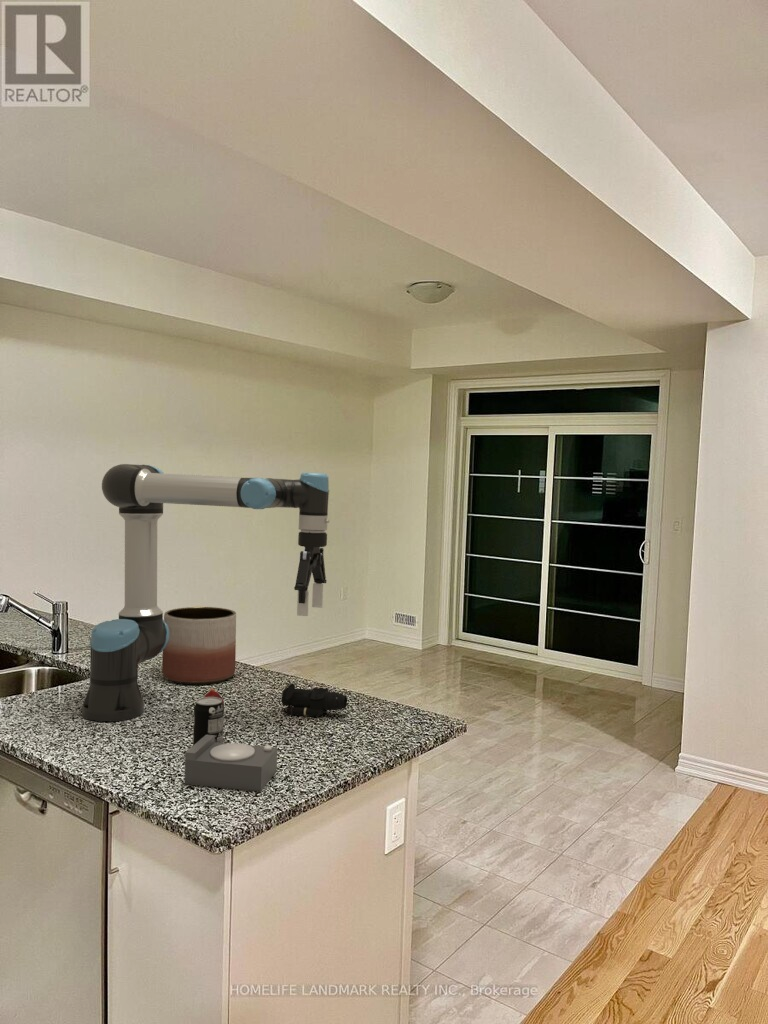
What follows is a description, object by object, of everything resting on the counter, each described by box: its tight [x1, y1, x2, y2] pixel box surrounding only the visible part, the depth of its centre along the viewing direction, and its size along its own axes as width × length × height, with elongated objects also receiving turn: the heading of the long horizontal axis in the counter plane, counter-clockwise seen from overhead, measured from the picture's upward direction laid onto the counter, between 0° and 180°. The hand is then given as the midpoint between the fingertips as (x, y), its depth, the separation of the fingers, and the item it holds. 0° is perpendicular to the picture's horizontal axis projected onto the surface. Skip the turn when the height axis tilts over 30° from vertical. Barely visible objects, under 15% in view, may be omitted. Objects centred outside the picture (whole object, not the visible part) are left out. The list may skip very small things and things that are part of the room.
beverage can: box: [192, 696, 225, 746], centre depth 169 cm, size 7×7×12 cm
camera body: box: [184, 735, 278, 792], centre depth 156 cm, size 16×11×6 cm
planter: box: [161, 606, 237, 685], centre depth 234 cm, size 22×22×20 cm
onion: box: [203, 687, 225, 707], centre depth 193 cm, size 6×6×8 cm
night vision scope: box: [281, 683, 348, 718], centre depth 200 cm, size 8×18×10 cm
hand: (310, 611), depth 199 cm, fingers open, 13 cm apart
